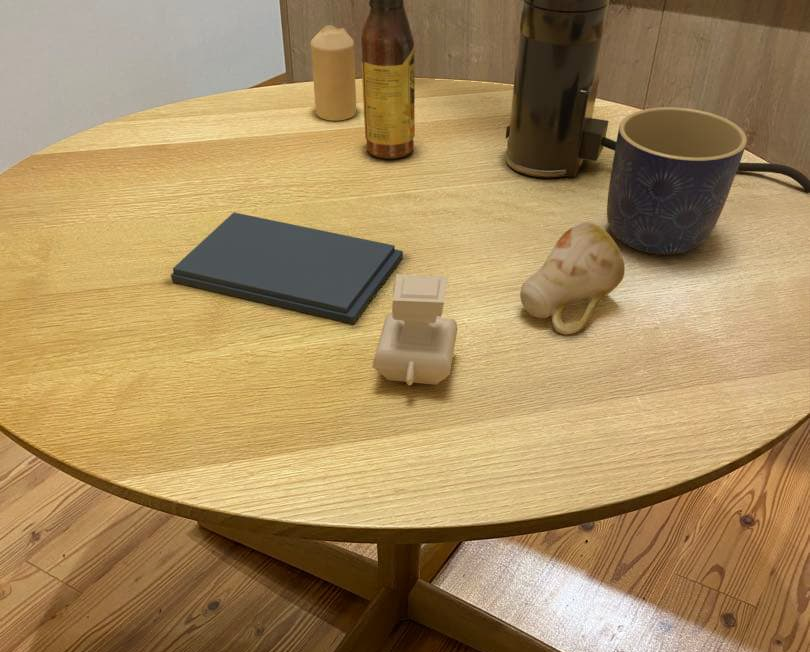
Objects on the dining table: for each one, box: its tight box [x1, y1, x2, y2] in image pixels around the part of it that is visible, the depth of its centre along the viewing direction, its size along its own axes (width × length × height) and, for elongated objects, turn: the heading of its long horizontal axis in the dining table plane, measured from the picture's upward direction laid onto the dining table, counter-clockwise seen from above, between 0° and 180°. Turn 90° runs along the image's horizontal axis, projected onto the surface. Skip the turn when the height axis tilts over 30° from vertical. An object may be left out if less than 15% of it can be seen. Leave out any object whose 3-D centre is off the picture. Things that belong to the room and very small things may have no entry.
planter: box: [606, 106, 748, 255], centre depth 82 cm, size 12×12×11 cm
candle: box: [310, 24, 357, 122], centre depth 104 cm, size 6×6×10 cm
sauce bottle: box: [360, 0, 416, 160], centre depth 93 cm, size 6×6×20 cm
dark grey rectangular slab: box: [170, 212, 404, 325], centre depth 81 cm, size 20×13×1 cm, turn 69°
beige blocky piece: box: [372, 273, 458, 386], centre depth 68 cm, size 9×7×8 cm
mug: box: [519, 221, 626, 335], centre depth 76 cm, size 8×10×10 cm
